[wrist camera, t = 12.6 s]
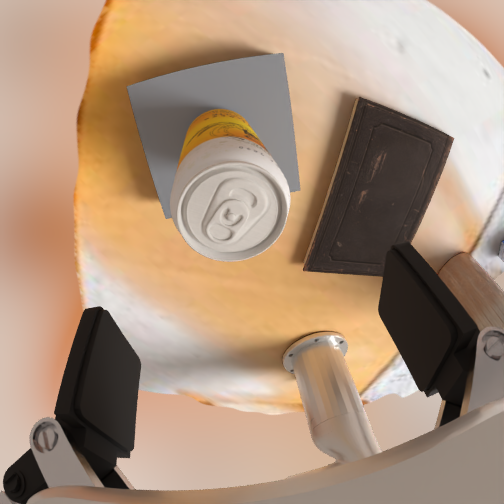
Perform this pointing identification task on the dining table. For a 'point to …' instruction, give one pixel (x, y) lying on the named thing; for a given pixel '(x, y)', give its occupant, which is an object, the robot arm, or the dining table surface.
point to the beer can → (228, 189)
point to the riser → (209, 98)
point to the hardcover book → (376, 190)
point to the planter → (474, 290)
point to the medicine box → (502, 251)
